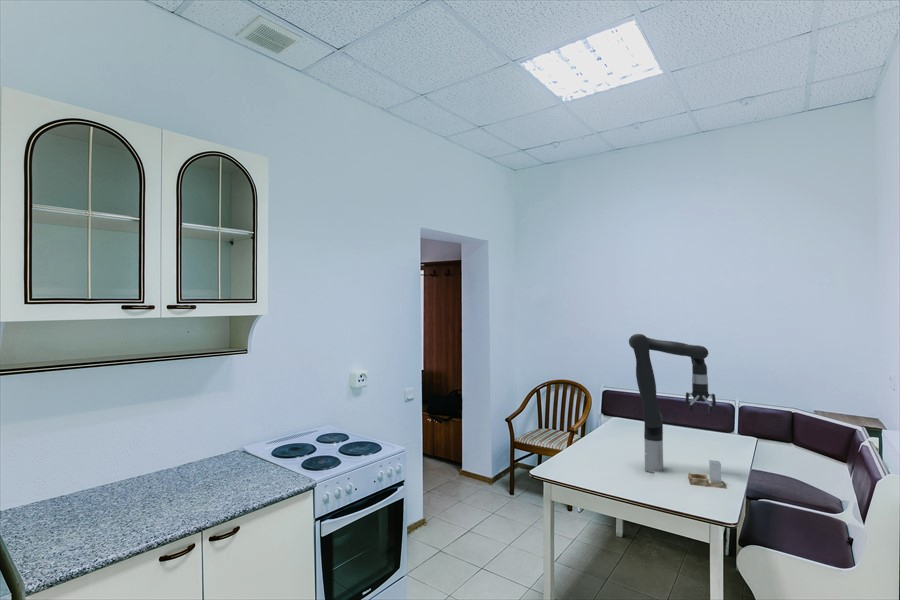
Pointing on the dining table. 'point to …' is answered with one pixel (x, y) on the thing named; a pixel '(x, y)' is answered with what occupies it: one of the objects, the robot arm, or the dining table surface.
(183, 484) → the dining table surface
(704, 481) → the brown compartment tray
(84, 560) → the dining table surface
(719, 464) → the block
